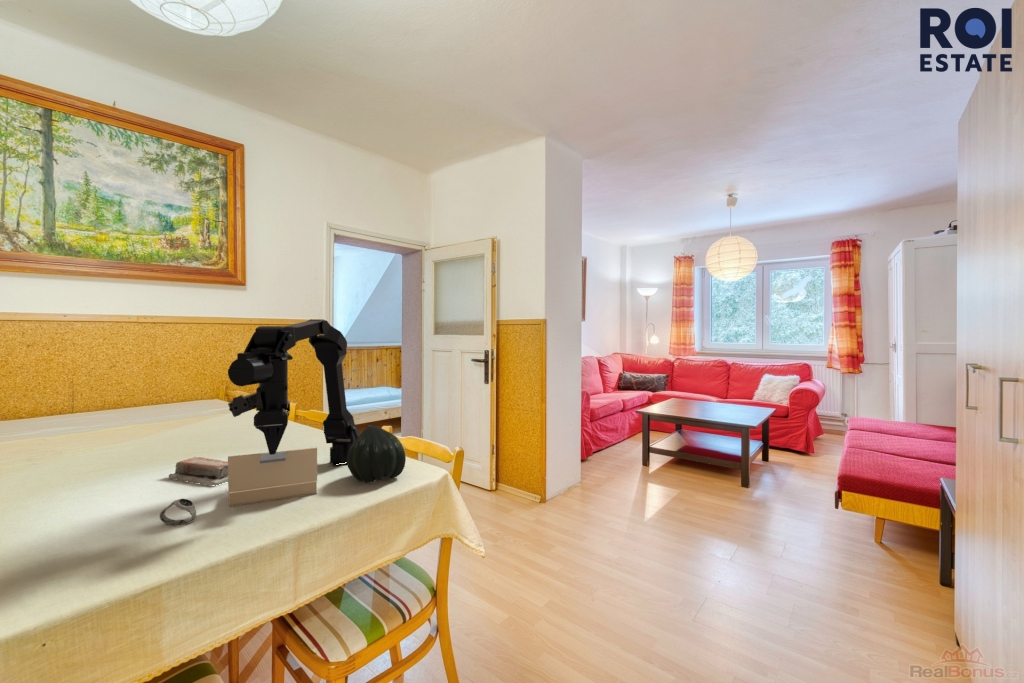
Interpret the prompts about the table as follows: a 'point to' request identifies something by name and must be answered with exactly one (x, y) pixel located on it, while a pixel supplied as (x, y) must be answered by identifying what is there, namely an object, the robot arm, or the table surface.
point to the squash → (376, 455)
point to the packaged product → (201, 471)
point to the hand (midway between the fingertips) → (273, 449)
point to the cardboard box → (272, 493)
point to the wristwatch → (181, 504)
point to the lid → (271, 469)
